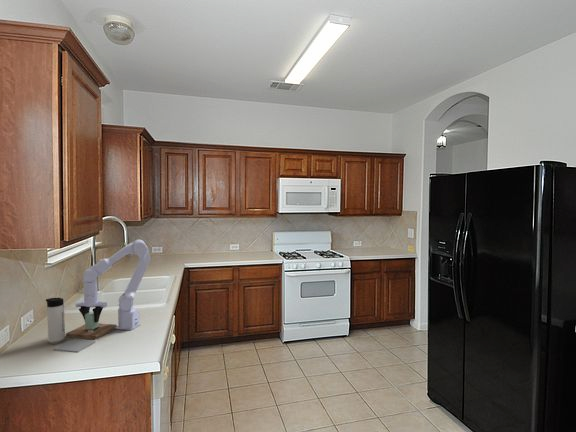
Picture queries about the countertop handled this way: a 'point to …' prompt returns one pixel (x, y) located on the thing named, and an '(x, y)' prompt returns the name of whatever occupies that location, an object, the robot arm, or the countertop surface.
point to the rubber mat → (74, 345)
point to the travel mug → (55, 320)
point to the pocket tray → (85, 333)
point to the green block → (90, 321)
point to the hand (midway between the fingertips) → (91, 321)
